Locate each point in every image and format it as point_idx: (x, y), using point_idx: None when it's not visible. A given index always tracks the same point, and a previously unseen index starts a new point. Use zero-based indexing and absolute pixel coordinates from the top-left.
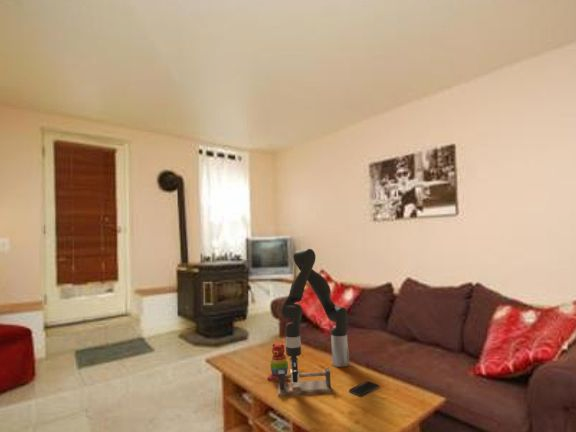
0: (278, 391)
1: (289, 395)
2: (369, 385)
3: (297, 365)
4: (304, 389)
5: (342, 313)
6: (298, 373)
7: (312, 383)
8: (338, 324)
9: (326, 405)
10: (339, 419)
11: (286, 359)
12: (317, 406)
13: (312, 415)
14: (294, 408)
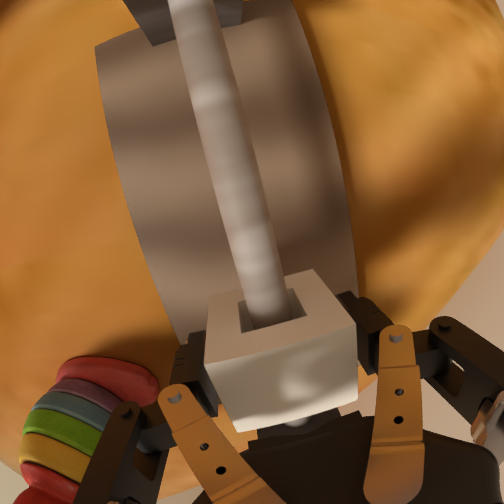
0: None
1: None
2: None
3: (420, 404)
4: (301, 209)
5: None
6: (351, 322)
7: (170, 155)
8: None
9: (434, 67)
10: (496, 52)
11: (39, 447)
12: (449, 116)
13: (500, 150)
14: (464, 239)
